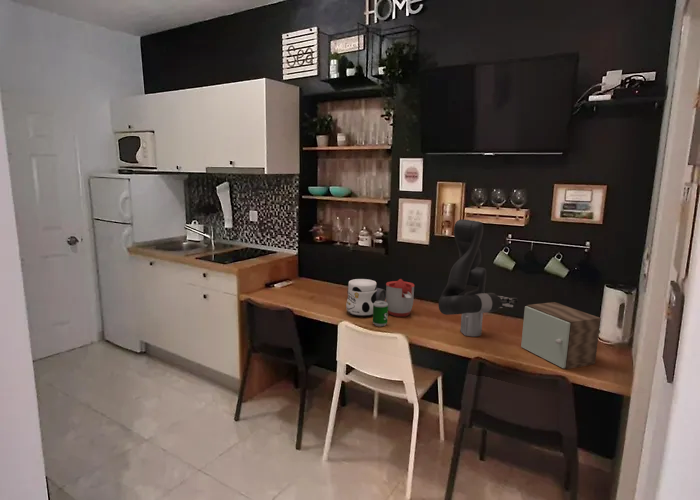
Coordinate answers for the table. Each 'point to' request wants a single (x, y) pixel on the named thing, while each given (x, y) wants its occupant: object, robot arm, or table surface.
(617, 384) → the table surface
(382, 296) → the bluetooth speaker
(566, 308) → the walnut cabinet
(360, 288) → the milk container
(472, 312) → the robot arm
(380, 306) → the soda can
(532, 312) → the sage door
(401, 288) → the citrus juicer
